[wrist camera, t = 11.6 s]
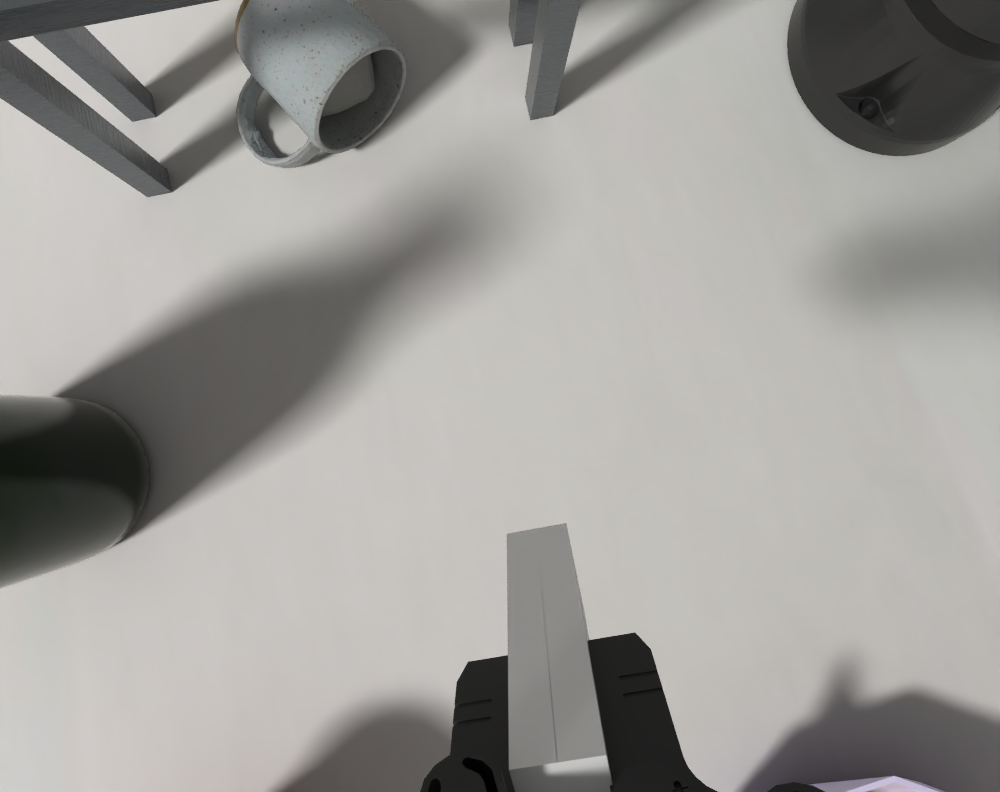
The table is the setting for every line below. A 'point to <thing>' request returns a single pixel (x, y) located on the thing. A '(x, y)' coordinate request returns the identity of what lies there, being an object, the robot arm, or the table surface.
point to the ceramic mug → (316, 73)
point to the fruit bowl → (877, 785)
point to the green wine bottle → (64, 483)
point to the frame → (60, 27)
